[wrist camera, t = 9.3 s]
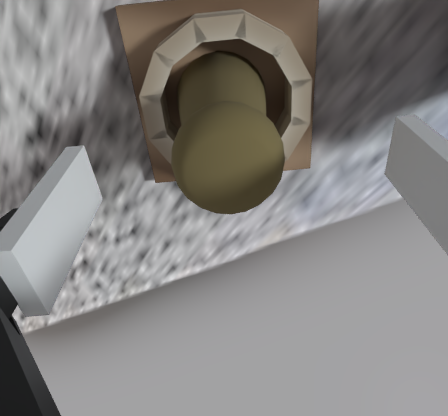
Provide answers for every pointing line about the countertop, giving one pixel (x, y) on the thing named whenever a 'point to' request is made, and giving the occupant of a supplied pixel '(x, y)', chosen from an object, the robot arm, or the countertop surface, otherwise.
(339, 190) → the countertop surface
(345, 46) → the countertop surface
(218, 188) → the olive knobbed peg
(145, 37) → the collar base
